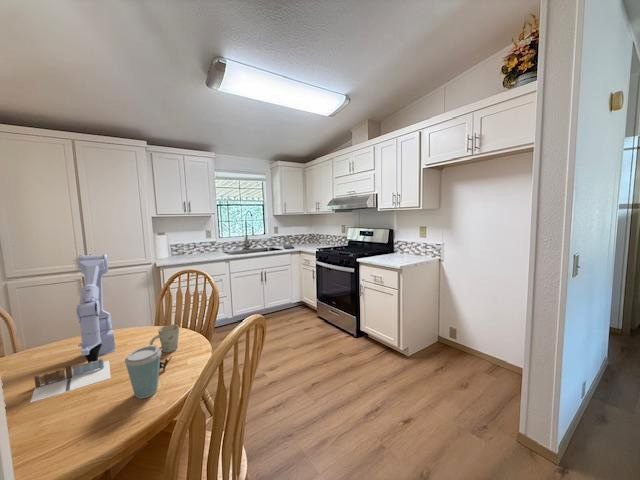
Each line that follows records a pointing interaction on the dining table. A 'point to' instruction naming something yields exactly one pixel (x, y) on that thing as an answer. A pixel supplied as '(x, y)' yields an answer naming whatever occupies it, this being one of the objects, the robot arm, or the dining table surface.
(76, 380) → the card
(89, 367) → the fence folding panel
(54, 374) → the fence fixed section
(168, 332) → the mug
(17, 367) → the dining table surface
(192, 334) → the dining table surface
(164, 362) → the eagle figurine
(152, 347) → the disposable coffee cup
